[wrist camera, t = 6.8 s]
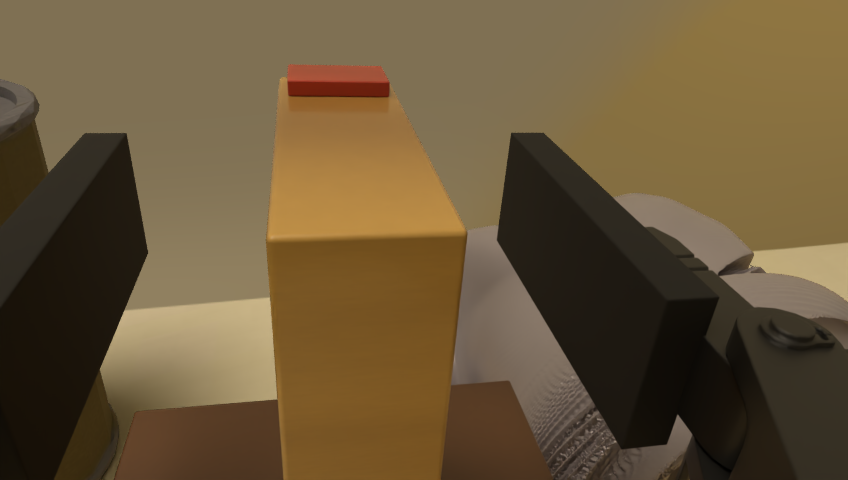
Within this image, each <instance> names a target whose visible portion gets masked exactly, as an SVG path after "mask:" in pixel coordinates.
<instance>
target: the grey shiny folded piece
mask: <svg viewBox="0 0 848 480" xmlns="http://www.w3.org/2000/svg"><path fill="white" fill-rule="evenodd" d="M613 198H614V199H615V200H616V201H617V202H618V203H619V204H620V205H621V206H622V207H624V208H625V209H626V210H627V211H628V212H629V213H630V214H631V215H632V216H633V217H634V218H635V219H636V220H638V221H639V222H640V223H641V224H642V225H643V226H644V227H654V228H656V229H658V230H660V231H662V232H664V233H666V234H668V235H670V236H672V237H674V238H676V239H677V240H679V241H680V242H681V243H682V244H683V245H684V246H685V247H686V248H688V249H689V250H690V251H691V252H692V253H693V254H694V257H695V258H699V259H700V260H701V261H702V262H703V263H705V264H706V265H707V266H708V267H709V268H708V269H709V270H712V271H714V272H715V273H716V274H717V275H718V276H719V277H720V278H722V279H723V280H724V281H725V282H726V283H727V284H728V285H729V286H731V287H732V288H733V289H734V290H735V291H736V292H737V293H739V294H740V295H741V296H742V297H743V298H744V299H745V300H746V301H748V302H749V303H750V304H751V305H752V306H753V307H754V308H755V307H766V308H777V309H781V310H785V311H789V312H793V313H796V314H798V315H801V316H803V317H805V318H807V319H810V320H812V321H814V322H816V323H817V324H819V325H821V326H822V327H824V328H825V329H827V330H828V331H830V332H831V333H832V334H833V335H834V336H835V337H836V338H837V339H838V341H839V342H840V343H841V344H842V345H843V347H844V349H848V302H847V301H846V300H844V299H843V298H842V297H840V296H839V295H837V294H836V293H834V292H833V291H831V290H829V289H827V288H825V287H823V286H822V285H819V284H817V283H814V282H812V281H809V280H806V279H802V278H799V277H794V276H789V275H782V274H772V273H766V272H765V271H764V270H763V269H762V268H761V267H756V266H755V267H753V266H752V265H751V266H752V267H751V268H749V265H750V263H751V261H752V259H753V256H754V253H753V252H752V251H751V250H750V249H749V248H748V247H747V246H746V245H745V244H744V243H743V242H742V241H741V240H740V238H739V237H737V236H736V235H735V234H734V233H733V232H732V231H731V230H729V229H728V228H727V227H726V226H725V225H723V224H722V223H720V222H718V221H716V220H714V219H712V218H710V217H708V216H705V215H703V214H701V213H699V212H697V211H695V210H693V209H691V208H689V207H687V206H685V205H683V204H681V203H679V202H676V201H674V200H672V199H669V198H665V197H661V196H654V195H648V194H643V193H632V194H625V195H621V196H617V197H613ZM498 226H499V225H496V226H487V227H480V228H475V229H471V230H467V233H468V235H467V244H466V253H465V262H464V272H463V281H462V290H461V299H460V308H459V317H458V326H457V336H456V345H455V354H454V363H453V372H452V381H451V385H458V384H470V383H482V382H494V381H506V380H508V381H510V383H511V385H512V387H513V389H514V392H515V394H516V396H517V398H518V401H519V403H520V405H521V407H522V409H523V412H524V414H525V416H526V418H527V421H528V423H529V425H530V427H531V430H532V432H533V434H534V436H535V438H536V441H537V443H538V445H539V447H540V450H541V452H542V454H543V456H544V459H545V461H546V463H547V465H548V467H549V470H550V472H551V474H552V476H553V479H554V480H675V479H676V476H677V473H678V471H679V468H680V466H681V463H682V460H683V458H684V455H685V452H686V450H687V447H688V445H689V442H690V439H691V437H692V433H691V432H690V430H689V429H688V428H687V426H686V425H685V424H684V422H683V421H682V420H681V418H680V417H679V416H678V415H677V418H676V421H675V423H674V426H673V429H672V432H671V435H670V437H669V440H668V443H667V445H659V446H650V447H641V448H632V449H623V450H621V448H620V446H619V444H618V443H617V441H616V439H615V438H614V436H613V434H612V433H611V431H610V429H609V428H608V426H607V424H606V423H605V421H604V419H603V418H602V416H601V414H600V413H599V411H598V409H597V408H596V406H595V404H594V403H593V401H592V399H591V398H590V396H589V394H588V393H587V391H586V389H585V387H584V386H583V384H582V382H581V381H580V379H579V377H578V376H577V374H576V372H575V371H574V369H573V367H572V366H571V364H570V362H569V361H568V359H567V357H566V356H565V354H564V352H563V351H562V349H561V347H560V346H559V344H558V342H557V341H556V339H555V337H554V336H553V334H552V332H551V331H550V329H549V327H548V325H547V324H546V322H545V320H544V319H543V317H542V315H541V314H540V312H539V310H538V309H537V307H536V305H535V304H534V302H533V300H532V299H531V297H530V295H529V294H528V292H527V290H526V289H525V287H524V285H523V284H522V282H521V280H520V279H519V277H518V275H517V274H516V272H515V270H514V268H513V267H512V265H511V263H510V262H509V260H508V258H507V257H506V255H505V253H504V252H503V250H502V248H501V247H500V245H499V243H498V242H497V234H498ZM748 268H749V269H748ZM689 480H690V479H689Z"/></svg>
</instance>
